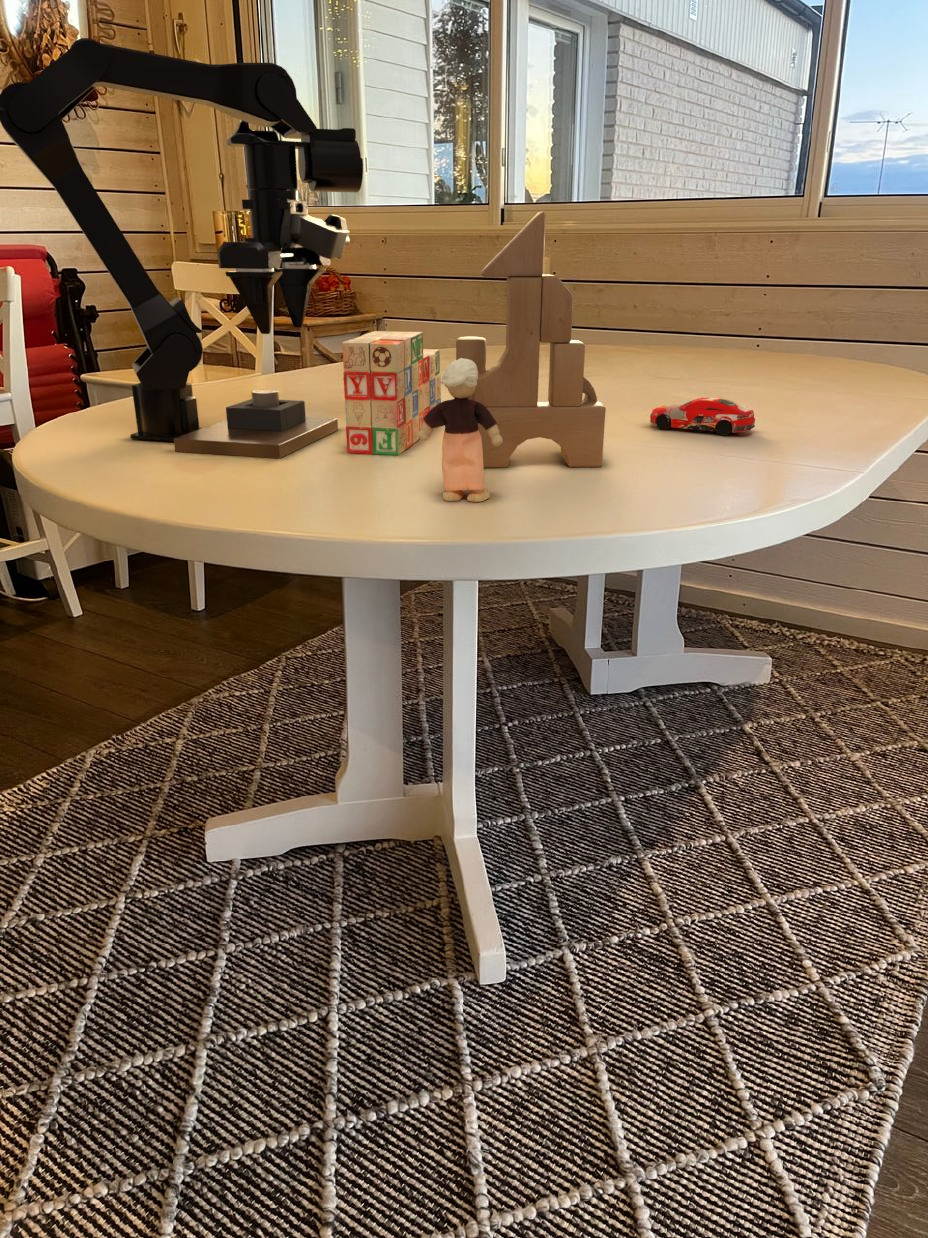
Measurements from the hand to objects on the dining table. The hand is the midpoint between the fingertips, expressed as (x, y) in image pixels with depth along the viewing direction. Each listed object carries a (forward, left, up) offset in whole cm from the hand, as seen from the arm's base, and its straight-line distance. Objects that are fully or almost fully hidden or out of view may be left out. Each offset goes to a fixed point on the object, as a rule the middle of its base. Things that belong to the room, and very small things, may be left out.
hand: (282, 330), depth 113 cm
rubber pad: (0, -6, -10) cm, 12 cm away
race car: (+51, +14, -12) cm, 54 cm away
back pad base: (0, -8, -12) cm, 14 cm away
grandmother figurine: (+30, -27, -12) cm, 42 cm away
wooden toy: (+33, -10, -12) cm, 37 cm away
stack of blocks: (+15, -1, -12) cm, 19 cm away
